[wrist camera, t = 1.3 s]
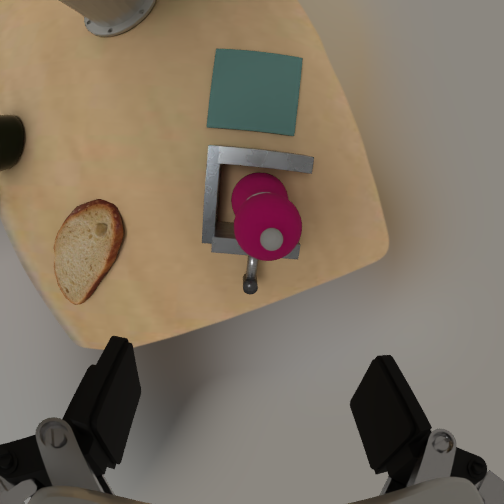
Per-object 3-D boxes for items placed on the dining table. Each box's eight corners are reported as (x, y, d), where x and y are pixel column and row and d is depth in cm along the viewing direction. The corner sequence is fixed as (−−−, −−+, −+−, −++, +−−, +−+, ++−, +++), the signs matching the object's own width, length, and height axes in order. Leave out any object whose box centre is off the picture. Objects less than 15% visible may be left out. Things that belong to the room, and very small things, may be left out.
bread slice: (71, 303, 46) (62, 313, 42) (40, 216, 39) (28, 222, 35) (147, 295, 45) (141, 307, 42) (117, 193, 39) (107, 198, 35)
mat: (216, 49, 31) (216, 48, 30) (301, 59, 32) (302, 58, 31) (207, 127, 35) (206, 127, 35) (293, 136, 36) (294, 135, 36)
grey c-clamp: (211, 145, 36) (205, 145, 30) (301, 154, 37) (313, 157, 31) (203, 272, 44) (197, 295, 37) (283, 279, 44) (289, 302, 38)
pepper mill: (278, 221, 41) (308, 290, 22) (229, 215, 40) (219, 280, 22) (286, 173, 38) (328, 203, 20) (235, 166, 38) (230, 188, 19)
